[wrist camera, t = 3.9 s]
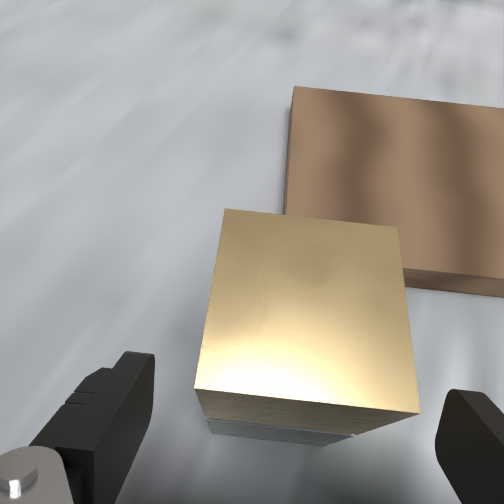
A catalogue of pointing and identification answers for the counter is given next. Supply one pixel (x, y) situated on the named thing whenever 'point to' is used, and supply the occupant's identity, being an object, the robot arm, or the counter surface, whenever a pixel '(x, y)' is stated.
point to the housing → (306, 331)
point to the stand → (405, 180)
